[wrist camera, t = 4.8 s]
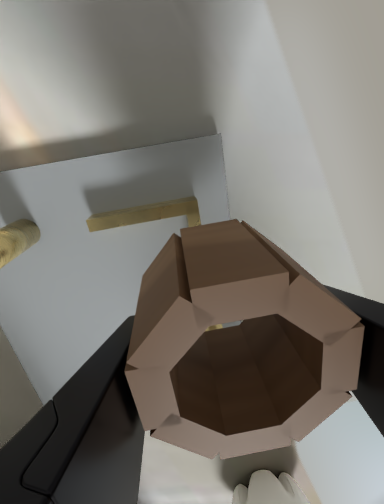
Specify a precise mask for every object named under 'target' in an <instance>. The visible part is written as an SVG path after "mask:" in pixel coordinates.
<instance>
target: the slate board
mask: <svg viewBox="0 0 384 504" xmlns="http://www.w3.org/2000/svg"><path fill="white" fill-rule="evenodd" d="M191 196H195V197H196V199H197V201H198V207H199V214H200V220H201V225H205V224H210V223H216V222H222V221H227V220H230V213H229V204H228V194H227V185H226V176H225V167H224V158H223V148H222V139H221V133H220V134H215V135H209V136H203V137H197V138H192V139H186V140H180V141H174V142H169V143H163V144H157V145H151V146H146V147H140V148H134V149H128V150H123V151H117V152H111V153H105V154H100V155H94V156H88V157H82V158H77V159H71V160H65V161H59V162H54V163H48V164H42V165H36V166H31V167H25V168H19V169H13V170H8V171H2V172H0V228H2V227H4V226H6V225H8V224H10V223H12V222H14V221H17V220H19V219H27V220H30V221H32V222H34V223H35V224H36V225H37V226H38V228H39V229H40V233H41V236H40V239H39V241H38V242H37V243H36V244H34V245H33V246H31V247H30V248H29V249H27V250H26V251H25V252H23V253H22V254H20V255H19V256H18V257H16V258H15V259H13V260H12V261H11V262H9V263H8V264H6V265H5V266H4V267H2V268H1V269H0V326H1V328H2V330H3V332H4V333H5V335H6V337H7V339H8V341H9V343H10V345H11V346H12V348H13V350H14V352H15V354H16V356H17V358H18V359H19V361H20V363H21V365H22V367H23V369H24V371H25V372H26V374H27V376H28V378H29V380H30V382H31V383H32V385H33V387H34V389H35V391H36V393H37V395H38V396H39V398H40V400H41V402H42V404H43V406H44V405H45V404H46V403H47V402H48V401H49V400H50V399H52V397H53V396H54V395H55V394H56V393H57V392H58V391H59V389H60V388H61V387H62V386H63V385H64V384H65V383H66V382H67V381H68V380H69V379H70V378H71V377H72V376H73V375H74V374H75V373H76V372H77V370H78V369H79V368H80V367H81V366H82V365H83V364H84V363H85V362H86V361H87V360H88V359H89V358H90V357H91V356H92V355H93V354H94V353H95V351H96V350H97V349H98V348H99V347H100V346H101V345H102V344H103V343H104V342H105V341H106V340H107V339H108V338H109V337H110V336H111V335H112V334H113V332H114V331H115V330H116V329H117V328H118V327H119V326H120V325H121V324H122V323H123V322H124V321H125V320H126V319H127V318H128V317H129V316H132V315H135V313H136V308H137V302H138V297H139V292H140V286H141V281H142V276H143V274H144V273H145V271H146V270H147V269H148V267H149V266H150V265H151V263H152V262H153V260H154V259H155V258H156V256H157V255H158V254H159V252H160V251H161V249H162V248H163V247H164V245H165V244H166V243H167V241H168V240H169V238H170V237H171V236H172V234H173V233H175V234H177V235H178V236H180V237H181V234H180V229H182V228H187V227H188V222H187V217H186V215H182V216H176V217H171V218H165V219H160V220H155V221H149V222H144V223H138V224H133V225H127V226H122V227H116V228H111V229H105V230H100V231H94V232H89V229H88V226H87V222H86V220H87V219H88V218H89V217H90V216H91V215H92V214H97V213H103V212H108V211H114V210H119V209H125V208H130V207H136V206H141V205H147V204H153V203H158V202H164V201H169V200H175V199H180V198H186V197H191ZM240 324H241V320H240V321H235V322H229V323H224V324H222V326H223V328H226V327H231V326H237V325H240Z"/></svg>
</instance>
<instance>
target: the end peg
mask: <svg viewBox="0 0 384 504" xmlns="http://www.w3.org/2000/svg"><path fill="white" fill-rule="evenodd" d="M40 236H41V233H40V229H39V228H38V226H37V225H36V224H35V223H34V222H32V221H30V220H27V219H19V220H17V221H14V222H12V223H10V224H8V225H6V226H4V227H2V228H0V269H1V268H2V267H4V266H5V265H6V264H8V263H9V262H11V261H12V260H13V259H15V258H16V257H18V256H19V255H20V254H22V253H23V252H25V251H26V250H27V249H29V248H30V247H31V246H33V245H34V244H36V243H37V242H38V241H39V239H40Z"/></svg>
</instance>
